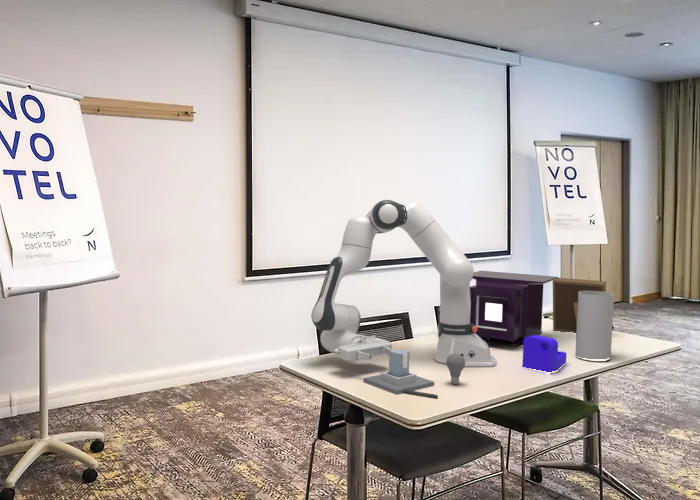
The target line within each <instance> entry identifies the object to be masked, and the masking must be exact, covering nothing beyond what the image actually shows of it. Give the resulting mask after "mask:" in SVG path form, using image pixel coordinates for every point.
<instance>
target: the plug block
mask: <svg viewBox="0 0 700 500" xmlns="http://www.w3.org/2000/svg"><path fill="white" fill-rule="evenodd" d="M392 350H393V351H389V357H388V371H389V375H392V376H395V377H403V376H408V375H409V372H410V351H406V350H403V349H399V348H398V349H392Z"/></svg>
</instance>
